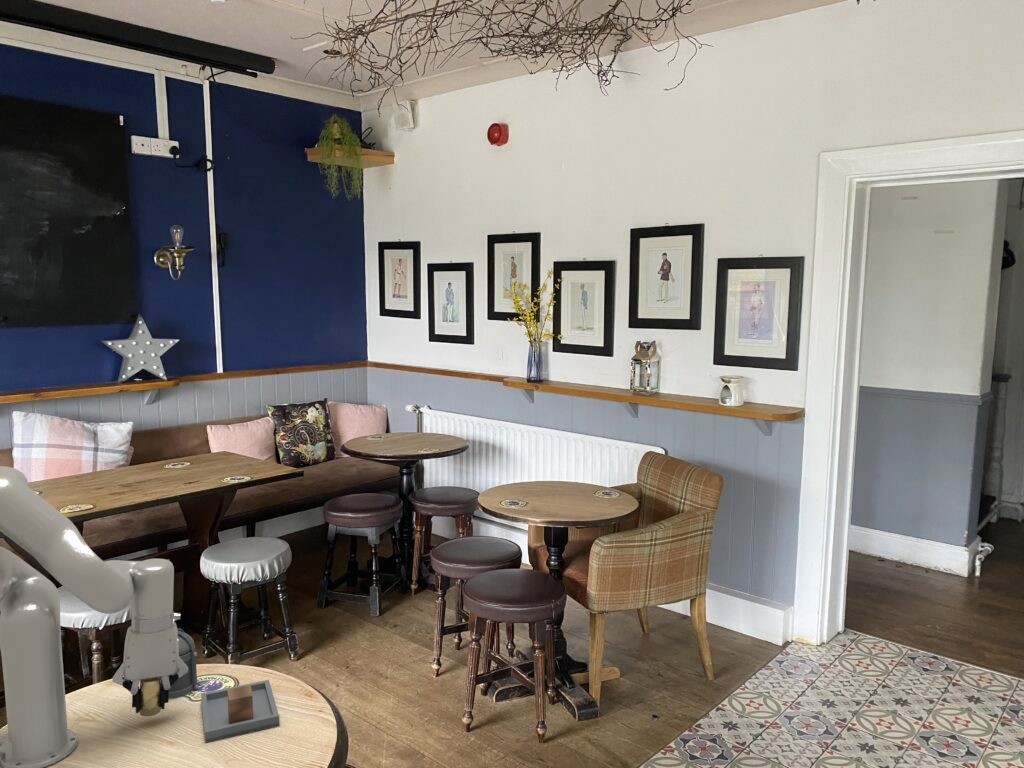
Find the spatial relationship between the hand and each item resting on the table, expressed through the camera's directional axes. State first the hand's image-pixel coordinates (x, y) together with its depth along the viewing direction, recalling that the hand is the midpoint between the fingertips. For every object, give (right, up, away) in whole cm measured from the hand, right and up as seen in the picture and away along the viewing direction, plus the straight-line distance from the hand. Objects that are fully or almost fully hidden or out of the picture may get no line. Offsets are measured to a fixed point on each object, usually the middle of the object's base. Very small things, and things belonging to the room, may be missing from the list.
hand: (150, 707), depth 154 cm
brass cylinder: (0, -1, 0) cm, 1 cm away
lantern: (-1, -2, +14) cm, 15 cm away
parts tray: (+17, -3, +4) cm, 18 cm away
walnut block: (+18, -3, 0) cm, 19 cm away
